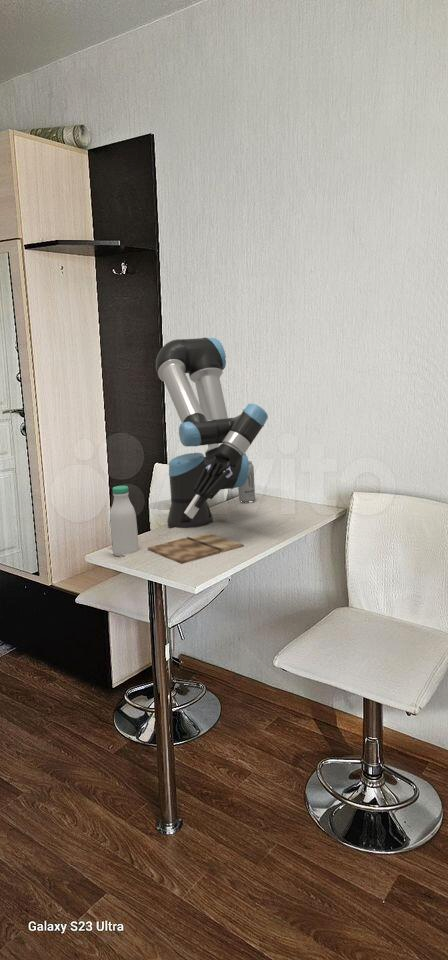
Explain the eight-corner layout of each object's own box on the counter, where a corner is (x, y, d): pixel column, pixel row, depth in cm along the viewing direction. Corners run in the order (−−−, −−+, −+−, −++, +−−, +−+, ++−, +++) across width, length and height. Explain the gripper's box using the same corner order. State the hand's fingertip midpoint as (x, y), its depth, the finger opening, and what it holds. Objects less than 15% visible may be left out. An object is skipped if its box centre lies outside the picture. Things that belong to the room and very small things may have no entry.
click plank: (185, 542, 212) (148, 552, 205) (184, 538, 212) (147, 547, 204) (220, 555, 198) (181, 566, 190) (219, 550, 198) (181, 561, 190)
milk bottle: (144, 552, 206) (139, 485, 202) (123, 558, 201) (117, 491, 197) (128, 547, 211) (123, 483, 207) (107, 554, 206) (101, 487, 202)
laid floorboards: (186, 543, 213) (186, 537, 212) (208, 537, 217) (207, 531, 217) (221, 555, 198) (221, 549, 198) (244, 549, 203) (243, 543, 202)
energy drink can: (247, 504, 257) (245, 464, 254) (235, 502, 261) (233, 462, 258) (258, 500, 261) (256, 461, 258) (246, 499, 265) (244, 460, 262)
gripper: (253, 460, 204) (209, 527, 198) (226, 455, 214) (184, 518, 208) (237, 445, 199) (192, 512, 194) (211, 440, 210) (167, 504, 204)
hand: (188, 515), depth 201 cm, fingers closed
